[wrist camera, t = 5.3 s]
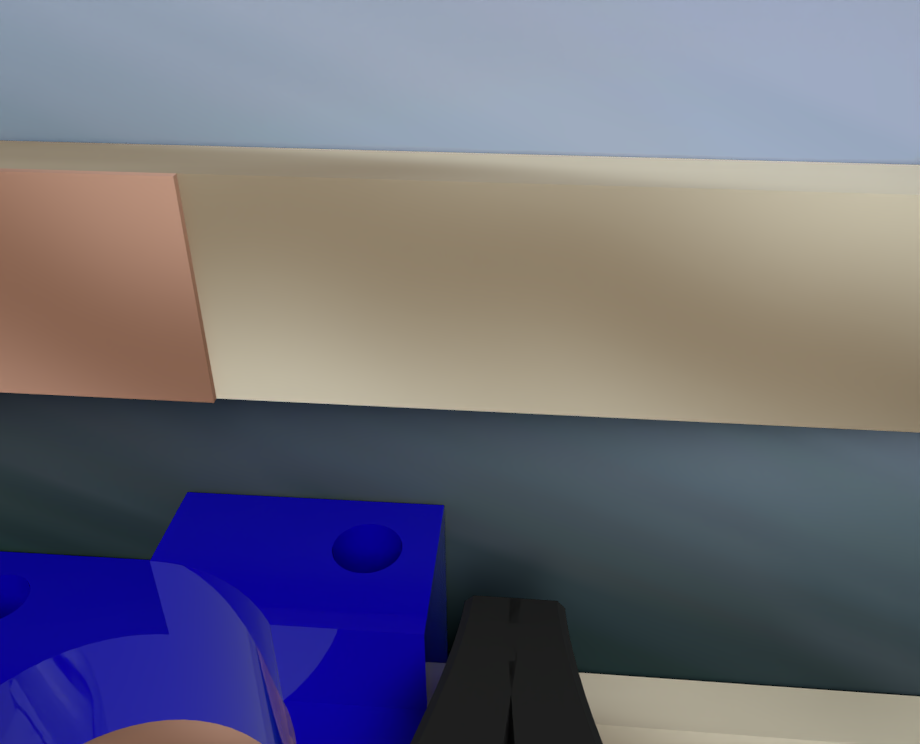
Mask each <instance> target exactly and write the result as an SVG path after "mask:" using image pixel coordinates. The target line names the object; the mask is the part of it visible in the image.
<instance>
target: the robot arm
mask: <svg viewBox="0 0 920 744" xmlns="http://www.w3.org/2000/svg"><path fill="white" fill-rule="evenodd" d="M410 744H603V743H602V740H601V737H600V735H599V732H598V729H597V727H596V724H595V721H594V719H593V716H592V713H591V710H590V707H589V704H588V701H587V698H586V695H585V692H584V688H583V685H582V682H581V678H580V675H579V672H578V669H577V665H576V661H575V657H574V654H573V650H572V645H571V641H570V636H569V631H568V626H567V620H566V613H565V608H564V607H563V606H562V605H561V604H560V603H559V602H558V601H550V600H535V599H520V598H505V597H490V596H472V597H471V598H469V599H468V600H466V601H465V603H464V608H463V612H462V617H461V621H460V624H459V627H458V631H457V634H456V637H455V640H454V643H453V646H452V649H451V651H450V654H449V657H448V660H447V662H446V665H445V667H444V670H443V672H442V675H441V677H440V680H439V682H438V684H437V687H436V689H435V691H434V693H433V696H432V698H431V700H430V702H429V704H428V706H427V709H426V711H425V713H424V715H423V717H422V719H421V722H420V724H419V726H418V728H417V730H416V732H415V735H414V737H413V739H412V741H411V743H410Z"/></svg>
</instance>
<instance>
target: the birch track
mask: <svg viewBox="0 0 920 744" xmlns="http://www.w3.org/2000/svg"><path fill="white" fill-rule="evenodd" d="M0 392H3V393H24V394H44V395H65V396H85V397H106V398H126V399H147V400H167V401H188V402H208V403H214V402H215V400H216V399H237V400H258V401H279V402H299V403H320V404H341V405H361V406H382V407H403V408H423V409H444V410H465V411H485V412H506V413H527V414H547V415H568V416H589V417H609V418H630V419H651V420H671V421H692V422H713V423H733V424H754V425H775V426H795V427H816V428H837V429H857V430H878V431H899V432H919V433H920V165H905V164H868V163H830V162H792V161H754V160H716V159H678V158H640V157H603V156H565V155H527V154H489V153H451V152H413V151H375V150H338V149H300V148H262V147H224V146H186V145H148V144H110V143H73V142H35V141H0ZM579 675H580V678H581V682H582V685H583V688H584V692H585V695H586V698H587V701H588V704H589V707H590V710H591V713H592V716H593V719H594V721H595V724H596V727H597V729H598V732H599V735H600V737H601V740H602V743H603V744H920V696H906V695H892V694H877V693H863V692H849V691H835V690H820V689H806V688H792V687H777V686H763V685H749V684H735V683H720V682H706V681H692V680H678V679H663V678H649V677H635V676H620V675H606V674H592V673H579ZM84 744H261V743H260V742H258V741H257V740H255V739H253V738H252V737H250V736H248V735H246V734H244V733H242V732H240V731H237V730H235V729H232V728H230V727H226V726H223V725H219V724H216V723H210V722H204V721H196V720H163V721H155V722H148V723H143V724H138V725H133V726H129V727H126V728H122V729H119V730H115V731H113V732H110V733H107V734H105V735H102V736H99V737H97V738H94V739H92V740H90V741H88V742H86V743H84Z"/></svg>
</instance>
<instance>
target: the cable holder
mask: <svg viewBox="0 0 920 744" xmlns="http://www.w3.org/2000/svg"><path fill="white" fill-rule="evenodd" d="M447 660H448V650H447V607H446V563H445V519H444V505H428V504H408V503H388V502H369V501H349V500H330V499H310V498H291V497H271V496H252V495H232V494H212V493H193V492H187V494H186V496H185V498H184V499H183V501H182V503H181V505H180V507H179V509H178V510H177V512H176V514H175V516H174V518H173V520H172V521H171V523H170V525H169V527H168V529H167V530H166V532H165V534H164V536H163V538H162V540H161V541H160V543H159V545H158V547H157V549H156V551H155V552H154V554H153V556H152V558H151V560H139V559H122V558H105V557H87V556H70V555H53V554H35V553H18V552H0V744H84V743H86V742H88V741H90V740H92V739H94V738H97V737H99V736H102V735H105V734H107V733H110V732H113V731H115V730H119V729H122V728H126V727H129V726H133V725H138V724H143V723H148V722H155V721H163V720H196V721H204V722H210V723H216V724H219V725H223V726H226V727H230V728H232V729H235V730H237V731H240V732H242V733H244V734H246V735H248V736H250V737H252V738H253V739H255V740H257V741H258V742H260V743H261V744H410V743H411V741H412V739H413V737H414V735H415V732H416V730H417V728H418V726H419V724H420V722H421V719H422V717H423V715H424V713H425V711H426V709H427V706H428V704H429V702H430V700H431V698H432V696H433V693H434V691H435V689H436V687H437V684H438V682H439V680H440V677H441V675H442V672H443V670H444V667H445V665H446V662H447Z"/></svg>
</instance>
